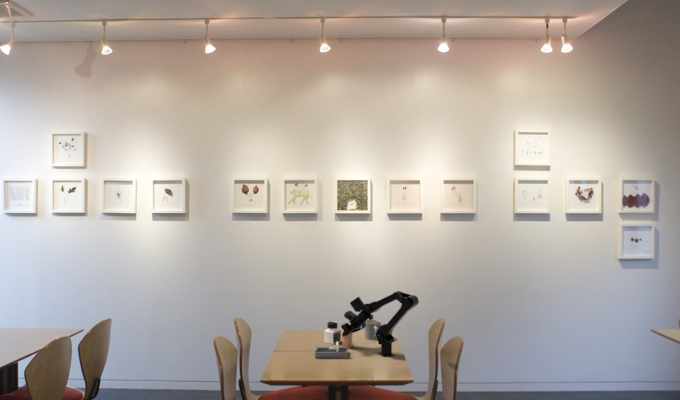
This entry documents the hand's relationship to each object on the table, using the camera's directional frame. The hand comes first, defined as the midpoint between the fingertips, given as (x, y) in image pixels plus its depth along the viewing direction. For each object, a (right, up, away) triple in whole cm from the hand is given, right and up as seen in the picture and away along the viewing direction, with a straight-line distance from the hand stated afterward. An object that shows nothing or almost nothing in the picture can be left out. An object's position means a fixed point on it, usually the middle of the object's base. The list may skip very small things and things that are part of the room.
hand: (345, 334), depth 272 cm
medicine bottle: (-8, -7, +9) cm, 14 cm away
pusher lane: (-8, -6, -16) cm, 19 cm away
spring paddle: (-6, -6, -16) cm, 19 cm away
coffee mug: (+17, -7, +16) cm, 25 cm away
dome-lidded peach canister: (+1, -7, -1) cm, 7 cm away
